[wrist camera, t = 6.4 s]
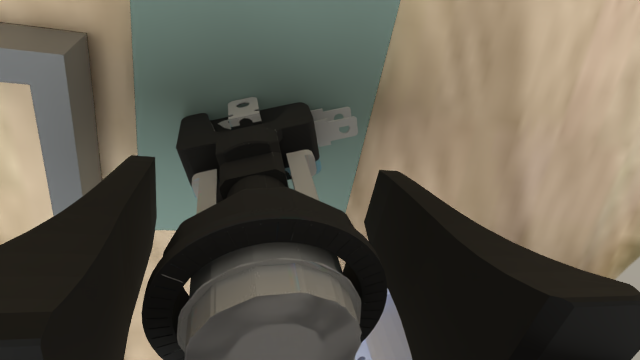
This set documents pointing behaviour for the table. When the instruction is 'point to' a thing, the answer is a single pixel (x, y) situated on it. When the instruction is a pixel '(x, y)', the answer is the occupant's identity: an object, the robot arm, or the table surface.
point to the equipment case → (57, 104)
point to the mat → (254, 76)
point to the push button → (262, 246)
